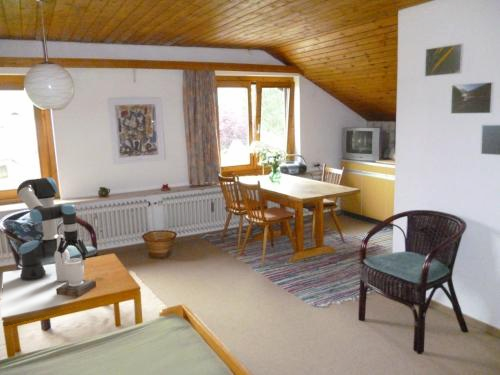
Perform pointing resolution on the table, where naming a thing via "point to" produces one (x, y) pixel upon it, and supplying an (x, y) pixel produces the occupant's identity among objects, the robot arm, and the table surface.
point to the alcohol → (60, 262)
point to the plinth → (76, 289)
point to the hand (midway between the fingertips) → (73, 264)
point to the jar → (74, 272)
